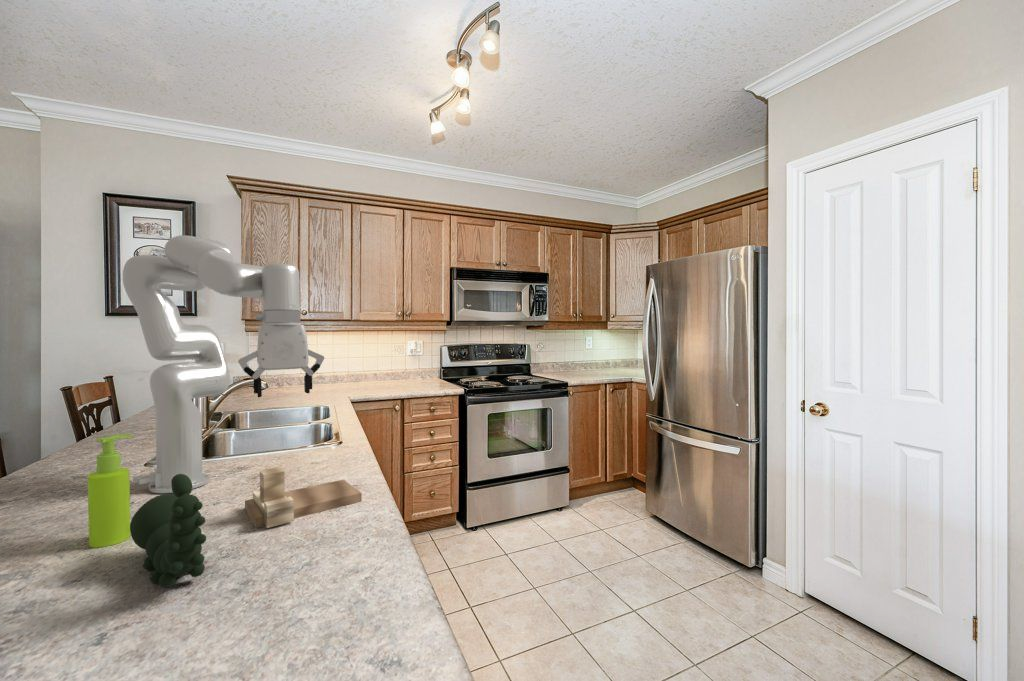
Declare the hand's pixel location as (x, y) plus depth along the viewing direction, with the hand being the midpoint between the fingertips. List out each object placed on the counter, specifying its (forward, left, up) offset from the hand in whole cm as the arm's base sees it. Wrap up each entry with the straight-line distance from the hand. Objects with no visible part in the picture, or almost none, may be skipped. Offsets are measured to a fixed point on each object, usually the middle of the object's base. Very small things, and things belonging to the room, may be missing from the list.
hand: (283, 394), depth 100 cm
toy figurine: (-21, -16, -26) cm, 37 cm away
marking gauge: (-3, -3, -25) cm, 26 cm away
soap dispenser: (-29, +4, -26) cm, 39 cm away
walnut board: (+4, -2, -26) cm, 26 cm away
